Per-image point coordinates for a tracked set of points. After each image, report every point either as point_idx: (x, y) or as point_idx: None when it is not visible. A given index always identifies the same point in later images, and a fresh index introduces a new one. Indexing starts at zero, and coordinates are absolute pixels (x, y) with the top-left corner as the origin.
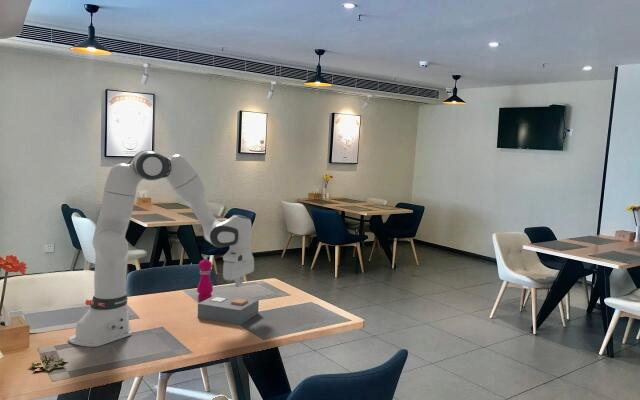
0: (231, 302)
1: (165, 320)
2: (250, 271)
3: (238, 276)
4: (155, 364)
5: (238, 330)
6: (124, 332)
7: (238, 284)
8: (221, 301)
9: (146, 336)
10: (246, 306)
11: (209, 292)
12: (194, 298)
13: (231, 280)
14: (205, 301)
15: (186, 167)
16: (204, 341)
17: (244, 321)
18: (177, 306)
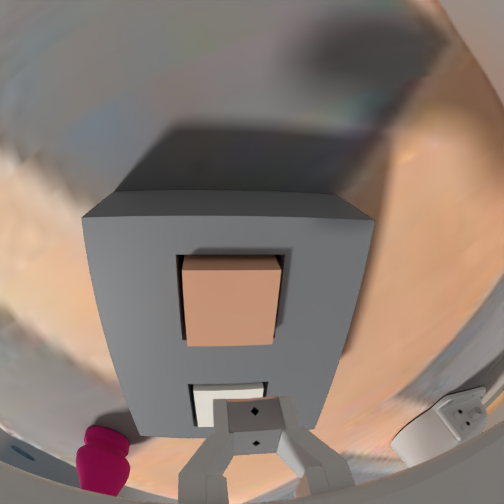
0: (272, 338)
1: (348, 419)
2: (35, 490)
3: (413, 481)
4: None
5: (403, 170)
6: (446, 406)
7: (295, 419)
8: (253, 387)
9: (453, 373)
10: (283, 220)
11: (105, 449)
12: (128, 453)
13: (502, 421)
14: None
15: None
16: (491, 238)
17: (290, 192)
18: None
